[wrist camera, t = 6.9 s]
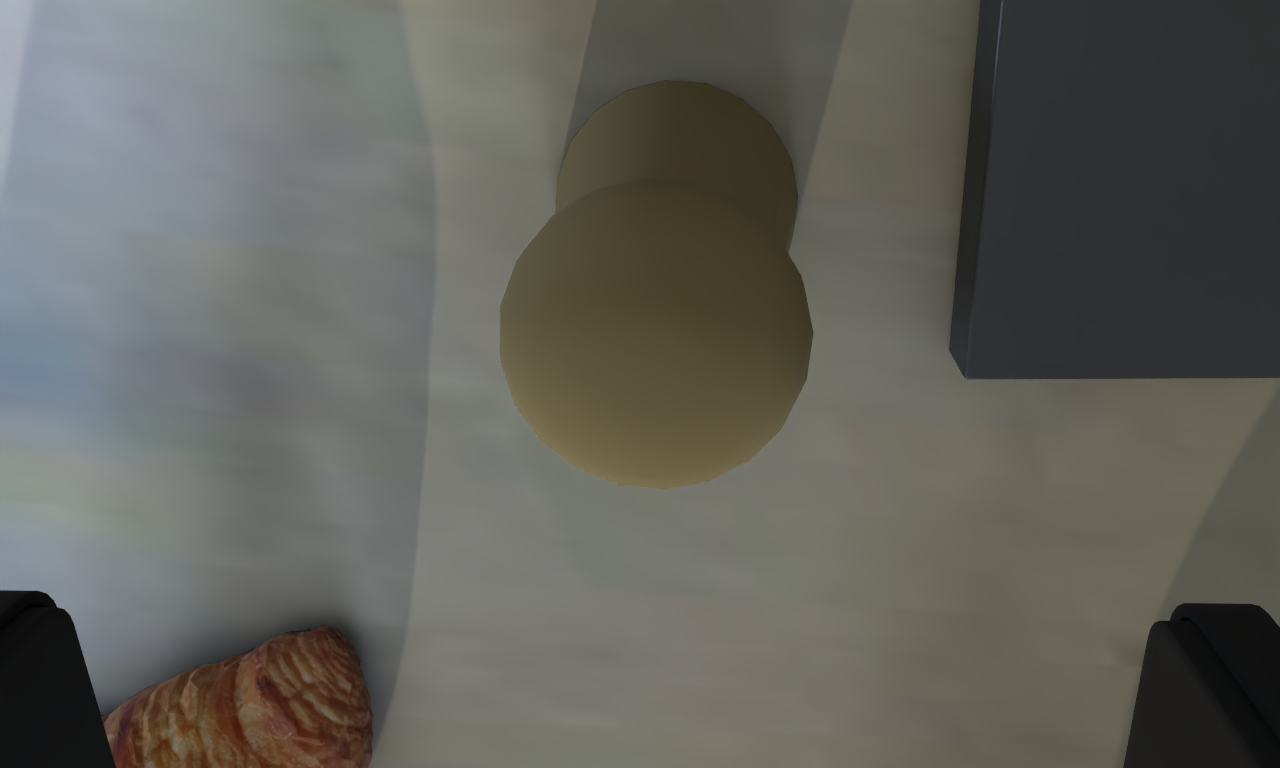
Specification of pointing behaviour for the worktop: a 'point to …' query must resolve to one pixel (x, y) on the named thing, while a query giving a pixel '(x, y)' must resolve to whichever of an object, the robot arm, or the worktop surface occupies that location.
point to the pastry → (253, 711)
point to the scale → (1122, 192)
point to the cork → (662, 292)
